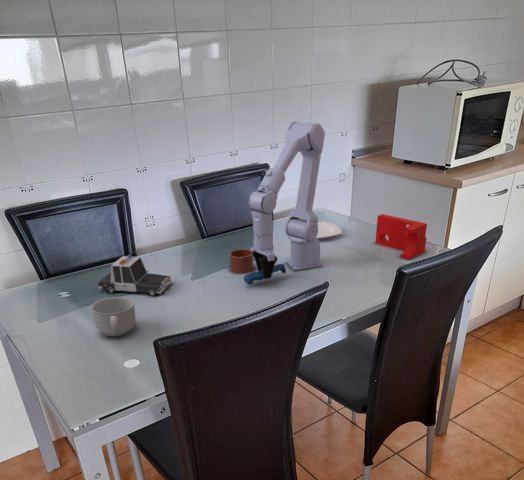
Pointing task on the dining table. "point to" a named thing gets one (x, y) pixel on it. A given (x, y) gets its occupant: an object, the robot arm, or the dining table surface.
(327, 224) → the plate
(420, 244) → the bracket
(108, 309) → the teacup
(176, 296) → the dining table surface
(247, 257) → the cup
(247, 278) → the figurine
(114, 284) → the toy car
